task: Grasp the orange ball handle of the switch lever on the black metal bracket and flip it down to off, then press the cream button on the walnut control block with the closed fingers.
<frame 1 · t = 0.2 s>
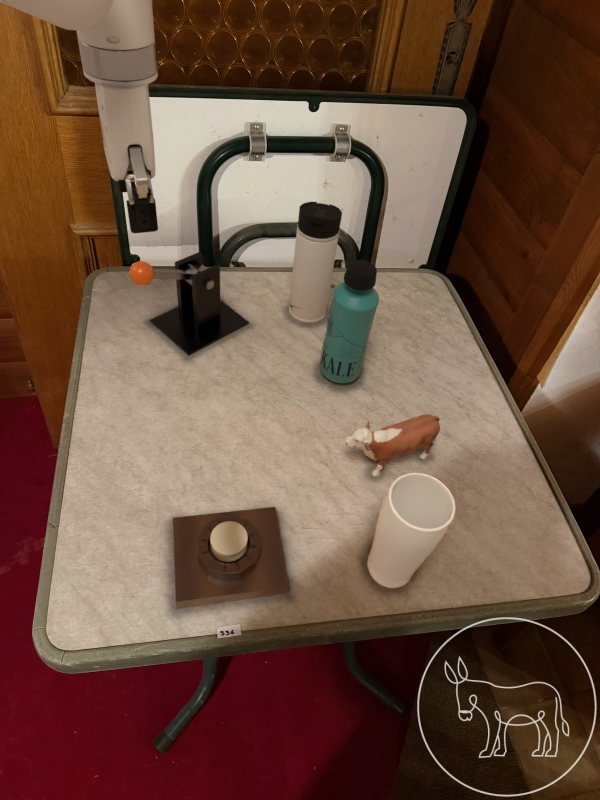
hand: (138, 210, 70), 22 cm above the table, tool pointing down, fingers open, 9 cm apart
control block: (228, 559, 64), on the table
beverage bottle: (338, 377, 86), on the table
stop button: (229, 541, 61), point 4 cm above the table, slide at 0.1 cm
drinking glass: (388, 568, 65), on the table
switch bracket: (200, 326, 90), on the table
travel mug: (306, 317, 94), on the table
bull figurine: (386, 462, 76), on the table
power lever: (170, 274, 78), point 12 cm above the table, hinge at 25.0°
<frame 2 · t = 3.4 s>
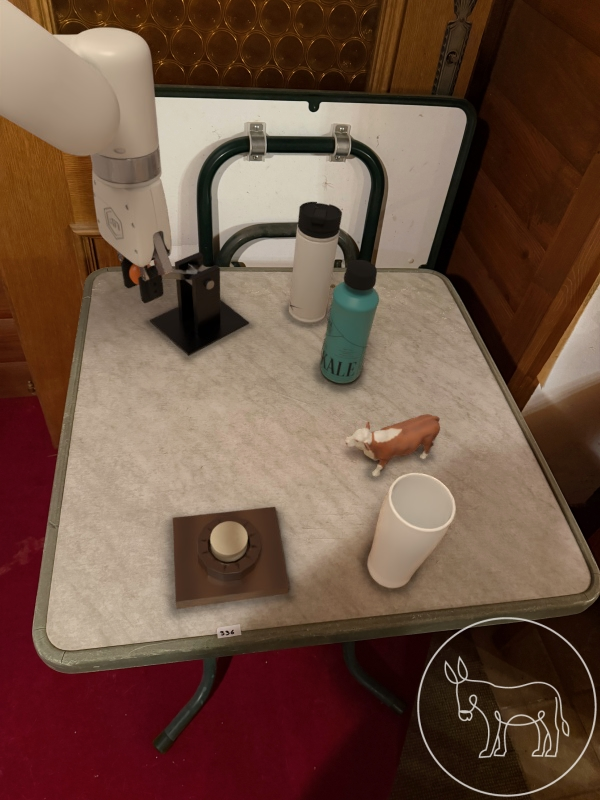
hand: (144, 290, 77), 11 cm above the table, tool pointing down, fingers closed on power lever, 3 cm apart
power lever: (170, 274, 78), point 12 cm above the table, hinge at 25.0°, touching gripper
everything else where it was.
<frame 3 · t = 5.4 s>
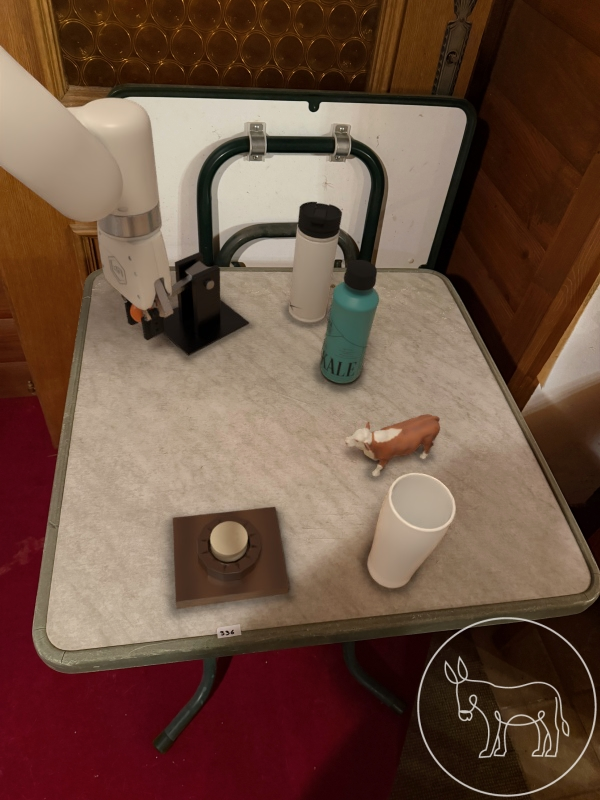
hand: (146, 327, 81), 5 cm above the table, tool pointing down, fingers closed on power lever, 3 cm apart
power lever: (169, 293, 80), point 9 cm above the table, hinge at -10.8°, touching gripper
everything else where it was.
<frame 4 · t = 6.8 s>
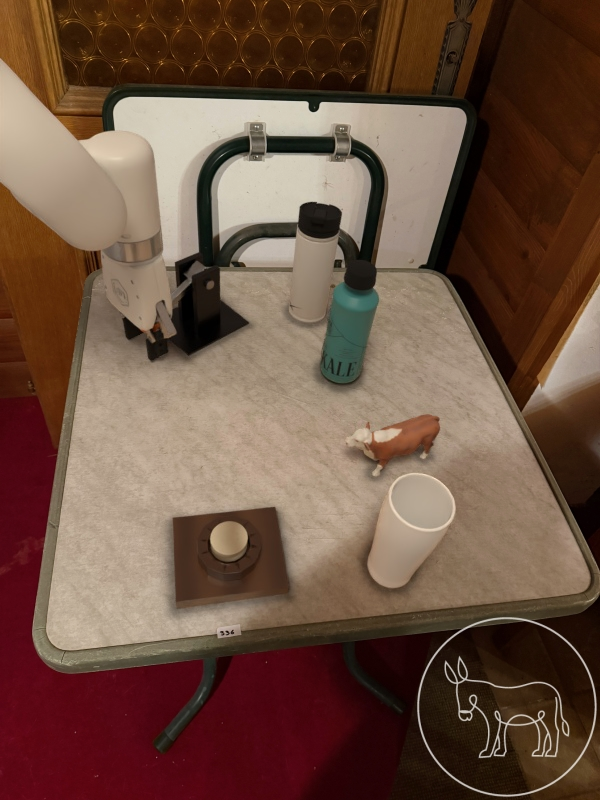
hand: (147, 344, 83), 2 cm above the table, tool pointing down, fingers open, 5 cm apart
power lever: (173, 299, 82), point 8 cm above the table, hinge at -25.8°
everything else where it was.
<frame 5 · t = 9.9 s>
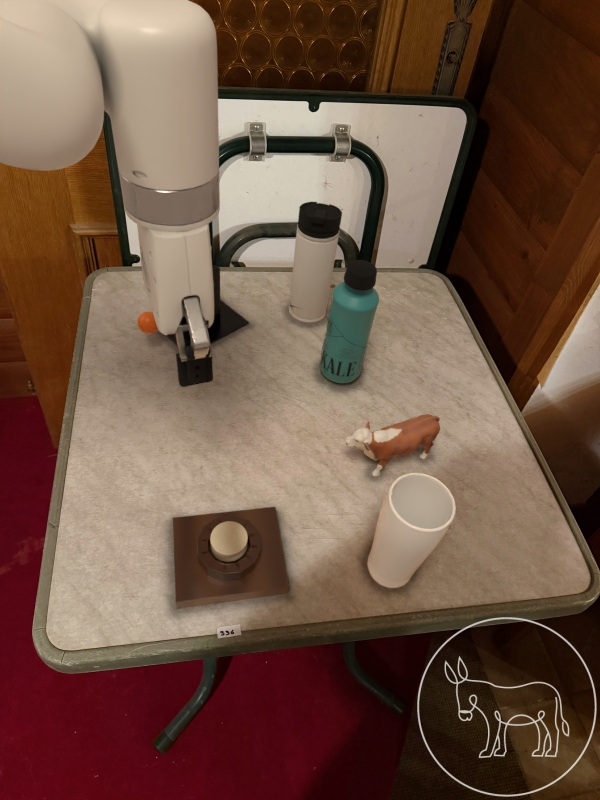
hand: (184, 348, 57), 21 cm above the table, tool pointing down, fingers open, 9 cm apart
nothing on the table moved.
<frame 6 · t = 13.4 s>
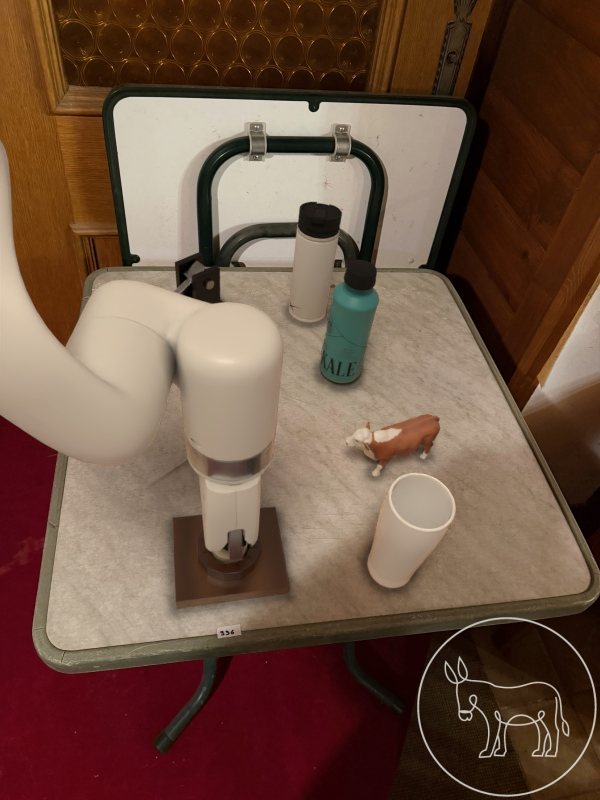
hand: (230, 541, 61), 5 cm above the table, tool pointing down, fingers closed
stop button: (229, 545, 61), point 4 cm above the table, slide at -0.7 cm, touching gripper
everything else where it was.
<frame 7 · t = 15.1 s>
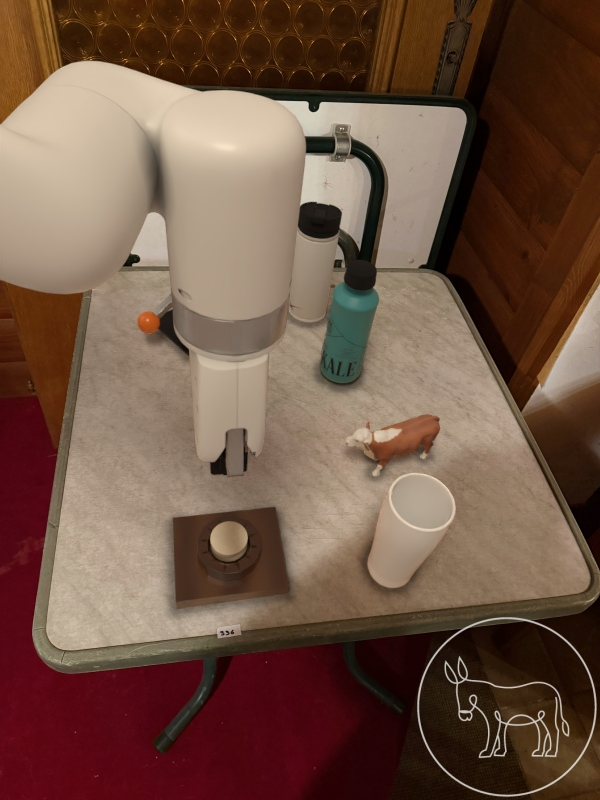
hand: (228, 466, 50), 19 cm above the table, tool pointing down, fingers closed
stop button: (229, 541, 61), point 4 cm above the table, slide at 0.1 cm
everything else where it was.
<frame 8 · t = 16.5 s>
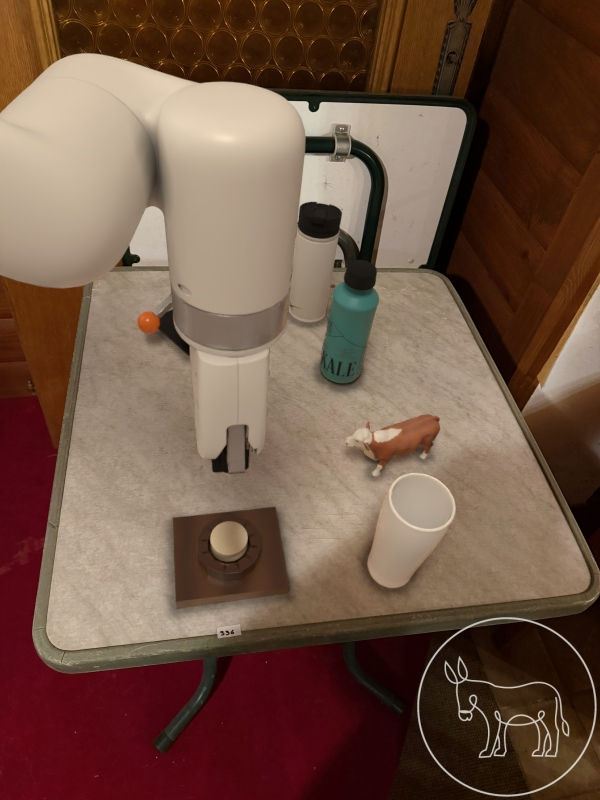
hand: (229, 463, 50), 19 cm above the table, tool pointing down, fingers closed
nothing on the table moved.
at the end: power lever at -26° (first picture: +25°); stop button pushed in 1.1 cm at the most during the clip, back to where it started at the end; stop button slide at 0.1 cm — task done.
